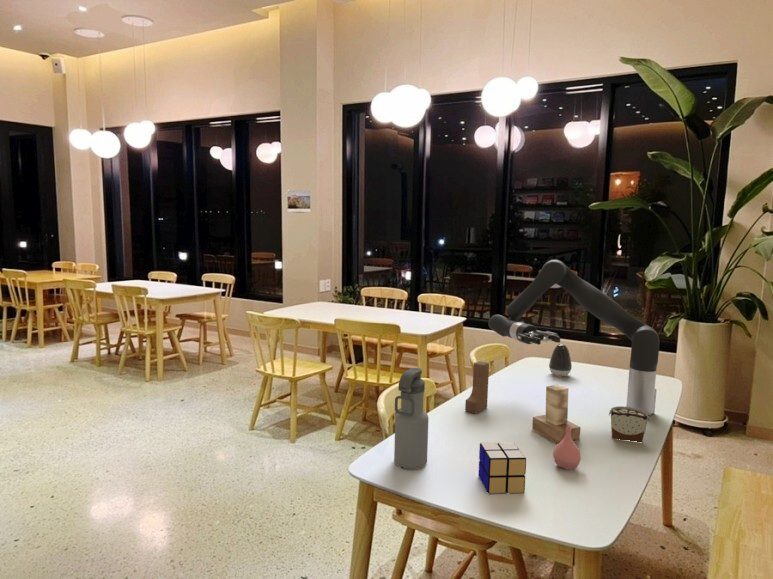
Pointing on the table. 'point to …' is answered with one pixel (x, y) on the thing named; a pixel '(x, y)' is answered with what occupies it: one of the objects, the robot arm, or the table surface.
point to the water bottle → (411, 422)
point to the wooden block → (478, 388)
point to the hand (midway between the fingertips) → (549, 340)
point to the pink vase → (567, 452)
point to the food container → (628, 423)
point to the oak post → (556, 404)
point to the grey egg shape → (560, 361)
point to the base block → (554, 429)
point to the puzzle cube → (502, 468)
